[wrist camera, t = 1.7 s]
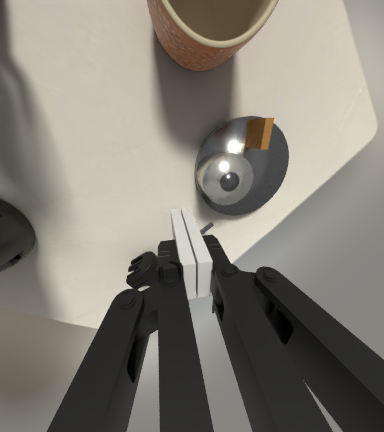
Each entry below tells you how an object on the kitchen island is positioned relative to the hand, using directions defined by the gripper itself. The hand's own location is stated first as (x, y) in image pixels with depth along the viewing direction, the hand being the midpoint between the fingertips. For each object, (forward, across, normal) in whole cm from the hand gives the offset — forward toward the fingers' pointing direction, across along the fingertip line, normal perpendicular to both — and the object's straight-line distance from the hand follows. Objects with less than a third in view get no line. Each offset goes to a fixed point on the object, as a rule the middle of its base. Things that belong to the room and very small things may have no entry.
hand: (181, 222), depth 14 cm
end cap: (+19, -5, -22) cm, 29 cm away
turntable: (+18, +14, 0) cm, 23 cm away
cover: (+16, +9, 0) cm, 18 cm away
